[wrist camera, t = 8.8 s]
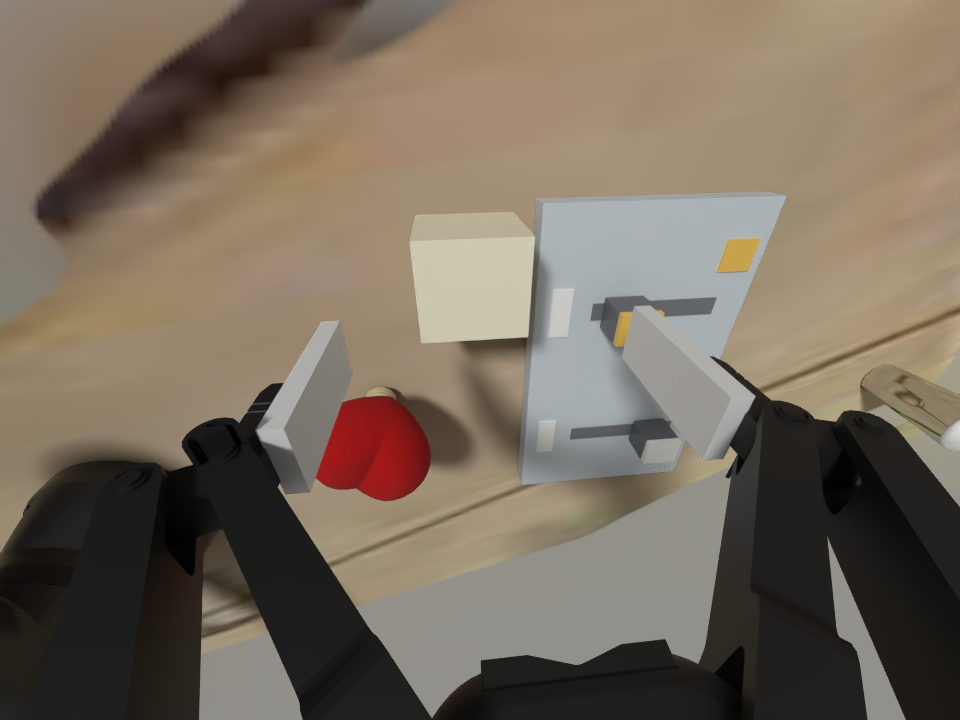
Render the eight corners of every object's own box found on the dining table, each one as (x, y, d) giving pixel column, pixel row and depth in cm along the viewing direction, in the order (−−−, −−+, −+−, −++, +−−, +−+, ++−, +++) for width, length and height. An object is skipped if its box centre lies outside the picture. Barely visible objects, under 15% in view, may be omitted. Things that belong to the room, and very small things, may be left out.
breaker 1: (599, 327, 29) (615, 346, 26) (605, 297, 27) (622, 315, 25) (636, 324, 29) (655, 344, 26) (643, 295, 28) (664, 313, 25)
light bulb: (446, 383, 33) (449, 470, 25) (413, 434, 36) (407, 527, 28) (344, 343, 30) (309, 428, 21) (318, 403, 33) (278, 498, 24)
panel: (518, 470, 40) (521, 486, 39) (536, 198, 25) (544, 203, 23) (663, 457, 42) (674, 472, 40) (764, 191, 26) (788, 196, 25)
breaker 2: (628, 439, 36) (643, 463, 34) (633, 420, 35) (649, 444, 32) (657, 437, 36) (673, 461, 34) (663, 418, 35) (681, 441, 32)
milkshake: (917, 358, 37) (1056, 425, 29) (871, 397, 40) (987, 470, 31) (889, 347, 36) (1027, 413, 28) (844, 388, 39) (958, 460, 30)
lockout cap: (424, 300, 28) (421, 343, 23) (415, 215, 25) (409, 241, 19) (510, 295, 29) (528, 337, 23) (513, 211, 26) (535, 236, 20)
